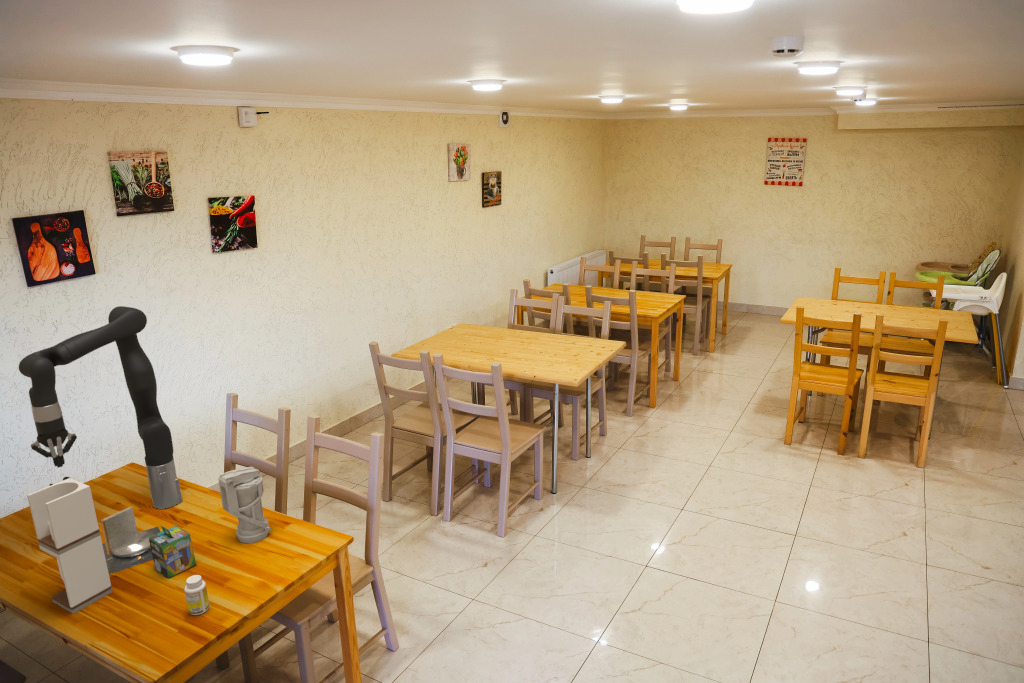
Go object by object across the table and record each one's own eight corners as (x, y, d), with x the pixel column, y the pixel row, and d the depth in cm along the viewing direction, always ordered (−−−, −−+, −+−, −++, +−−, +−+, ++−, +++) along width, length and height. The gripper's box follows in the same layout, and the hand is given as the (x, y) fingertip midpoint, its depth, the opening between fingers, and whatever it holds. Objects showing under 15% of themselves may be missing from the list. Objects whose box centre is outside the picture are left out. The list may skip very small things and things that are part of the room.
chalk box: (196, 565, 217) (189, 524, 213) (168, 579, 210) (160, 537, 206) (182, 555, 222) (175, 514, 218) (153, 569, 215) (145, 527, 211)
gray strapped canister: (259, 524, 240) (250, 458, 233) (275, 534, 233) (266, 467, 226) (224, 539, 230) (213, 472, 224) (239, 551, 224) (229, 482, 217)
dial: (141, 531, 233) (134, 495, 230) (164, 541, 227) (157, 505, 223) (98, 552, 221) (90, 515, 218) (120, 564, 215) (113, 526, 211)
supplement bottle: (204, 601, 199) (198, 570, 197) (213, 608, 196) (208, 577, 193) (185, 610, 195) (179, 579, 192) (194, 618, 192) (188, 587, 189)
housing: (158, 530, 237) (157, 525, 237) (171, 552, 224) (170, 548, 223) (99, 549, 227) (98, 544, 226) (109, 574, 213) (108, 569, 213)
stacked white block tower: (92, 581, 210) (69, 478, 200) (112, 591, 205) (89, 486, 195) (53, 602, 200) (26, 495, 191) (73, 613, 195) (47, 504, 185)
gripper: (70, 408, 224) (81, 456, 229) (21, 419, 216) (34, 468, 220) (74, 414, 218) (85, 463, 223) (24, 425, 210) (37, 476, 215)
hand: (59, 466), depth 222 cm, fingers closed
